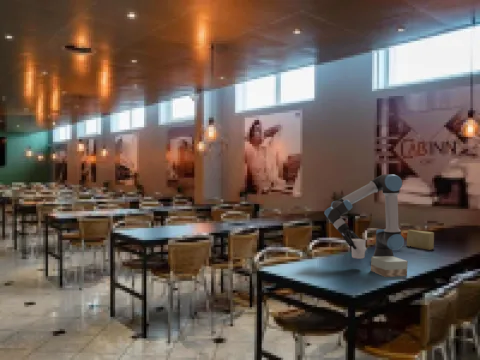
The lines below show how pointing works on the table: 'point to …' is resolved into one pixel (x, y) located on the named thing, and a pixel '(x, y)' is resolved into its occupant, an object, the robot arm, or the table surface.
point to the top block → (389, 262)
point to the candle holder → (361, 245)
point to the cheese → (420, 239)
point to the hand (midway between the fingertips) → (362, 251)
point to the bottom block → (389, 271)
